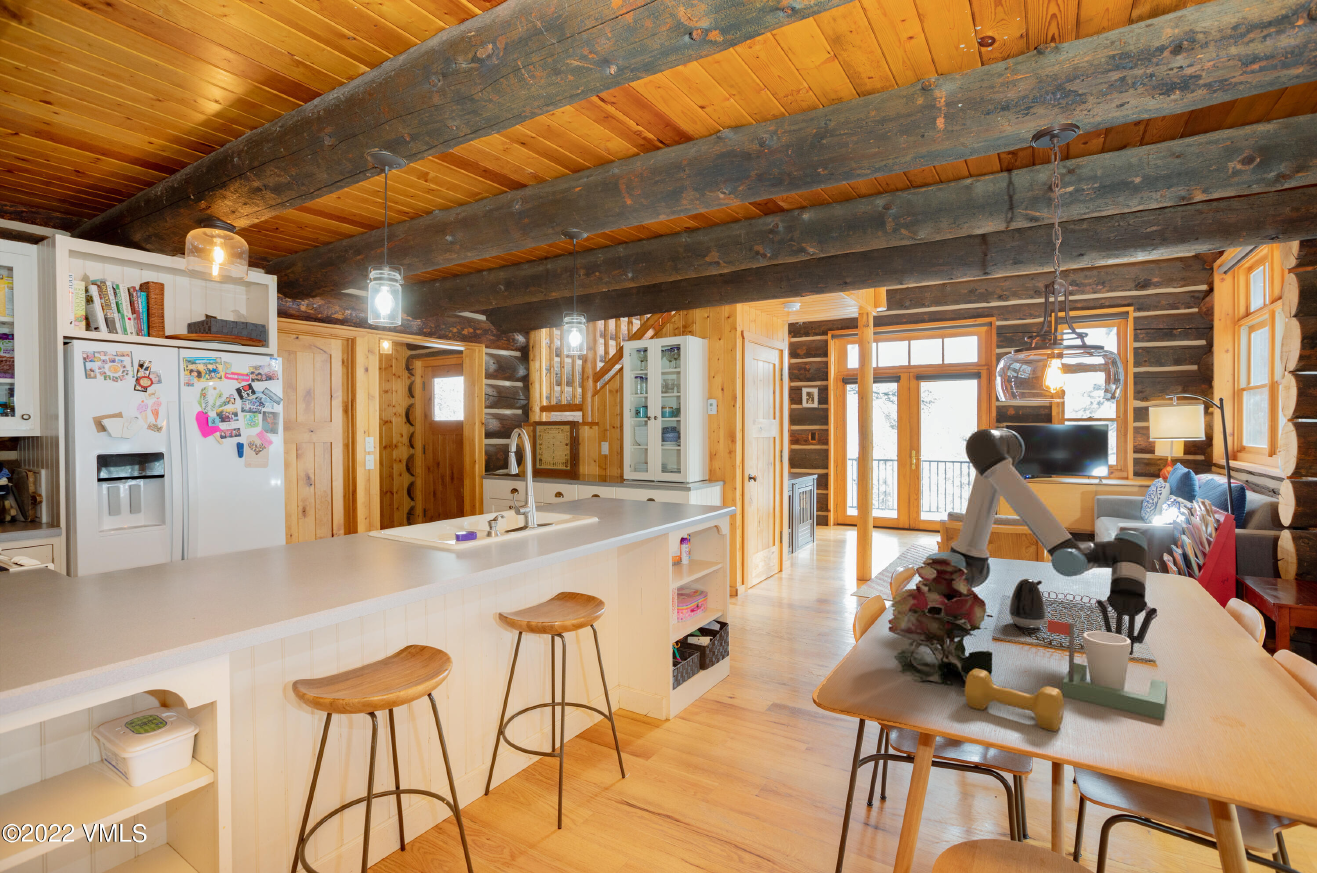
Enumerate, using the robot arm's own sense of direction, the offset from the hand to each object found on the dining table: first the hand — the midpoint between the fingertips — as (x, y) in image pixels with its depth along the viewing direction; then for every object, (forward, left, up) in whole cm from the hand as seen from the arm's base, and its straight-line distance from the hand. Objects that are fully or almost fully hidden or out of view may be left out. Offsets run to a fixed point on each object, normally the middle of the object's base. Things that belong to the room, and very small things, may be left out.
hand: (1122, 664), depth 156 cm
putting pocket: (-6, -5, -6) cm, 10 cm away
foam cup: (-5, -3, -6) cm, 8 cm away
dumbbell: (-32, -22, -6) cm, 39 cm away
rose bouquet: (-42, +4, -6) cm, 42 cm away
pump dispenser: (-5, +47, -6) cm, 47 cm away
